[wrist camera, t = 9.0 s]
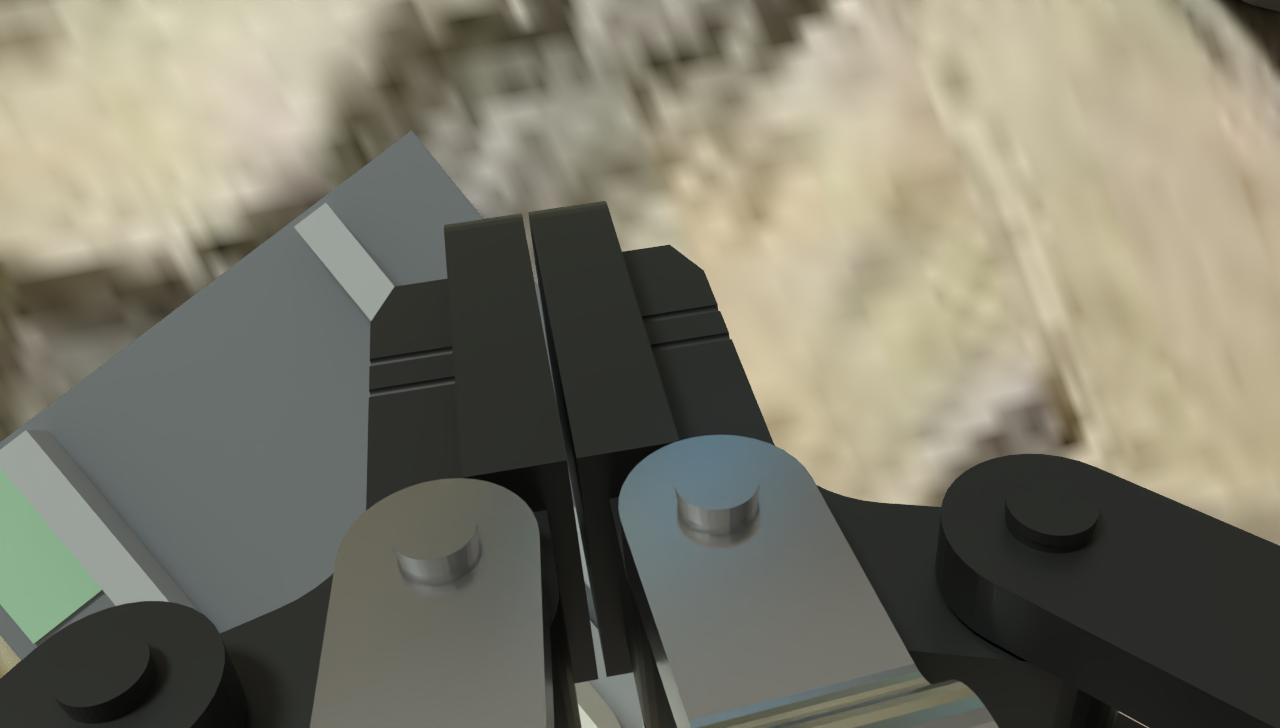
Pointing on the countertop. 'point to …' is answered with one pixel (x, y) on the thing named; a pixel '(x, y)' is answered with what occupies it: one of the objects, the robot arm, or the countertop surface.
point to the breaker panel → (225, 424)
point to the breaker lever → (608, 696)
